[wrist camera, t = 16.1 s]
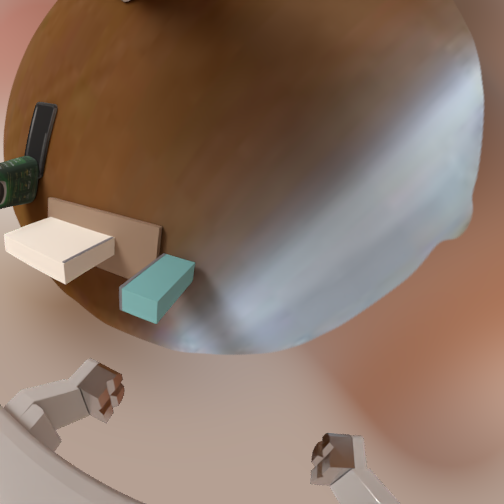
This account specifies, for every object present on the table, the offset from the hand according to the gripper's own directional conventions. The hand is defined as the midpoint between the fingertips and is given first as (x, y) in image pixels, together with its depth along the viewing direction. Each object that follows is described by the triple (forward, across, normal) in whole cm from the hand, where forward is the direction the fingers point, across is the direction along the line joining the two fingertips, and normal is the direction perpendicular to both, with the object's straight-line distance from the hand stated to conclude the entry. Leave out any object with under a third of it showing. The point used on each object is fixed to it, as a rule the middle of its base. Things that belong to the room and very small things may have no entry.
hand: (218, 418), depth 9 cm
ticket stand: (+29, +29, +9) cm, 42 cm away
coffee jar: (+29, +51, +1) cm, 59 cm away
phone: (+30, +49, -7) cm, 57 cm away
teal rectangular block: (+28, +12, +9) cm, 32 cm away
